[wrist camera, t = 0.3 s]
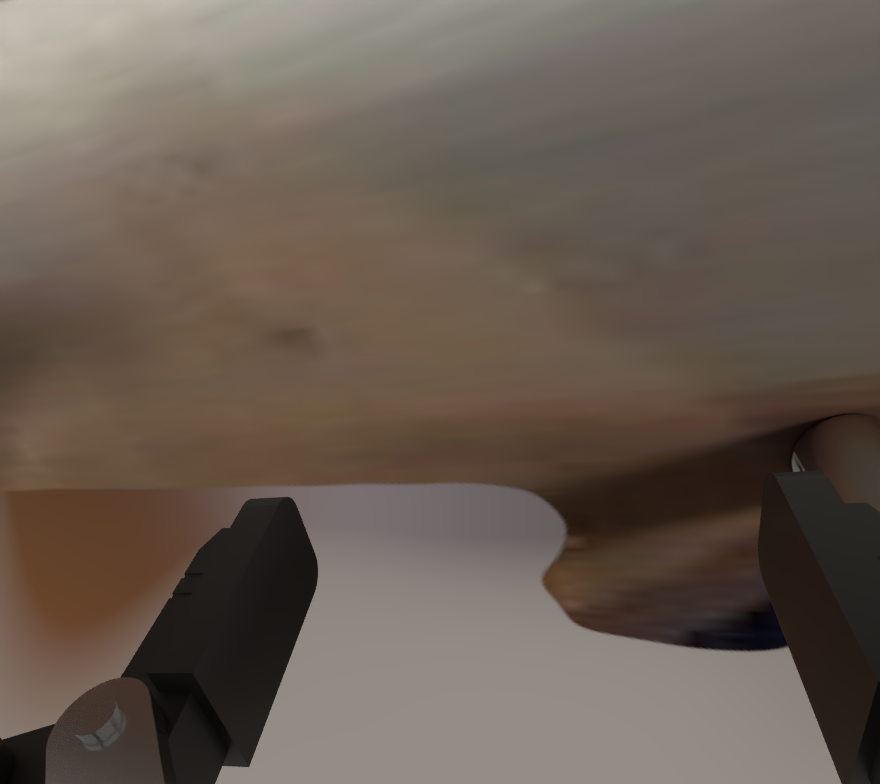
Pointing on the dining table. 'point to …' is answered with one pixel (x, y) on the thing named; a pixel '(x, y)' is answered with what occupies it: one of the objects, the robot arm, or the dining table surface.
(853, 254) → the dining table surface
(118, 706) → the robot arm
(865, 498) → the air filter
